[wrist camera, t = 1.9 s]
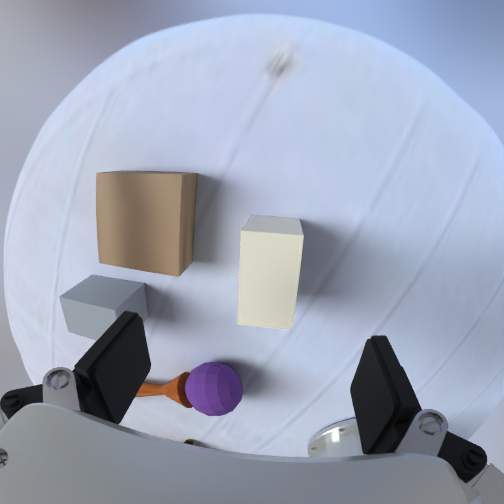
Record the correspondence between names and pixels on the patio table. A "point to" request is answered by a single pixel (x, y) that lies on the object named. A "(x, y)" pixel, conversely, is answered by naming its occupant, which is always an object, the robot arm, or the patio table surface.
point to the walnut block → (146, 220)
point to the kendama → (202, 389)
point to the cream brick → (269, 271)
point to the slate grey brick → (101, 304)
